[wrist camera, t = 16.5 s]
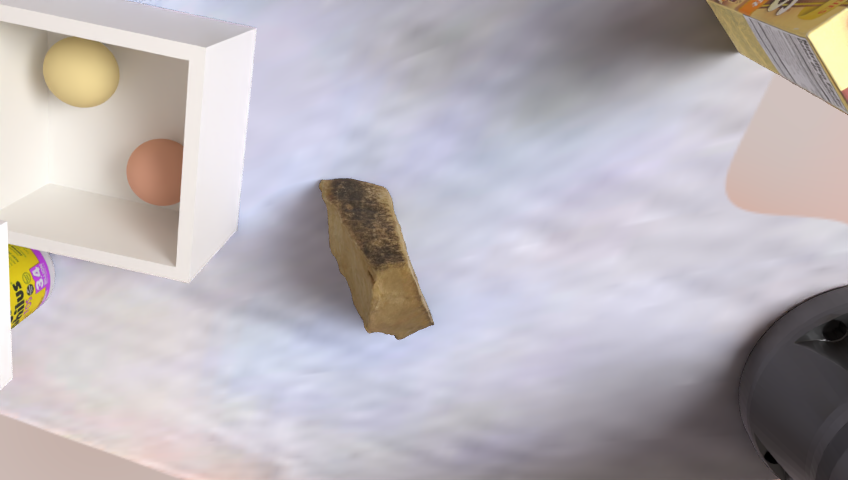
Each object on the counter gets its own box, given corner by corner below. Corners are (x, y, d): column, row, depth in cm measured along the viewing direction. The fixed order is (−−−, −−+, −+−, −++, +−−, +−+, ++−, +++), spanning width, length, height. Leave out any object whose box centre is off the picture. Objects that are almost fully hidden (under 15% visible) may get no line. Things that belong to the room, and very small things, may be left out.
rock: (470, 357, 48) (493, 221, 43) (372, 419, 43) (384, 272, 38) (357, 281, 54) (365, 154, 49) (258, 327, 49) (255, 189, 44)
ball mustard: (133, 39, 44) (98, 49, 40) (130, 106, 46) (97, 121, 42) (66, 25, 44) (27, 34, 41) (66, 92, 46) (28, 106, 42)
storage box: (256, 27, 44) (206, 47, 37) (237, 230, 49) (189, 283, 42) (41, -18, 44) (-52, -7, 37) (44, 188, 49) (-38, 233, 42)
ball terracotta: (209, 138, 46) (183, 157, 42) (204, 199, 48) (179, 221, 44) (145, 125, 46) (114, 142, 42) (143, 186, 48) (112, 207, 44)
